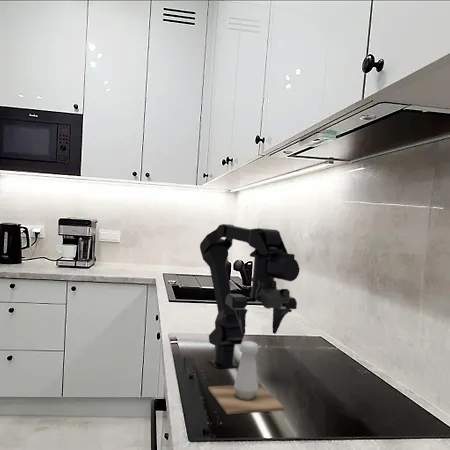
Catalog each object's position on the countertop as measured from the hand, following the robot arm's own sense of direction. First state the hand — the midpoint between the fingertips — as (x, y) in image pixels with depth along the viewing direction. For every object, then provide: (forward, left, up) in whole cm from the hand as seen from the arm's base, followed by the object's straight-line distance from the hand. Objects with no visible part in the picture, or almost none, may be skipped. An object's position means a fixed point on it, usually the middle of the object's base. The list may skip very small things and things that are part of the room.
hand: (258, 333), depth 112 cm
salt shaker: (+10, -7, -13) cm, 17 cm away
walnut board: (+10, -7, -13) cm, 18 cm away
